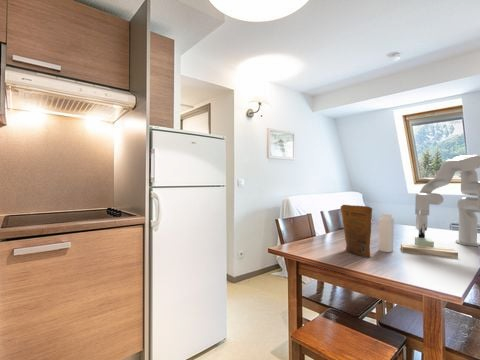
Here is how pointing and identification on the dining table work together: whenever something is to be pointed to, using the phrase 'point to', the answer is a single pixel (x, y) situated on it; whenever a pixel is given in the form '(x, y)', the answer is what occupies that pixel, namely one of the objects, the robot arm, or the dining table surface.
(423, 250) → the board
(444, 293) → the dining table surface
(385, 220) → the milk
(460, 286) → the dining table surface
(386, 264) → the dining table surface
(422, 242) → the block
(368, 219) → the pancake mix bag
